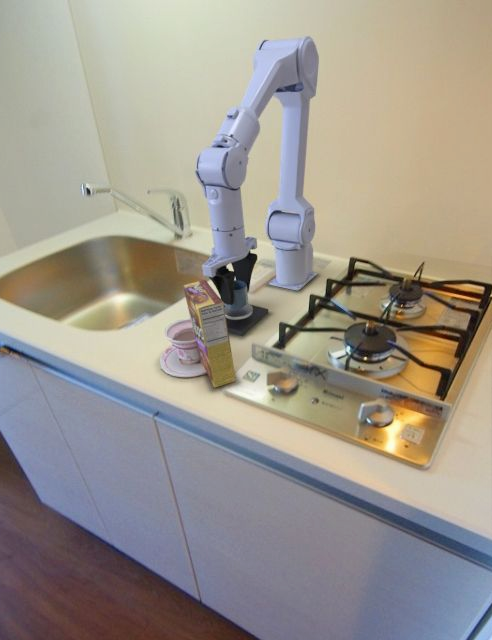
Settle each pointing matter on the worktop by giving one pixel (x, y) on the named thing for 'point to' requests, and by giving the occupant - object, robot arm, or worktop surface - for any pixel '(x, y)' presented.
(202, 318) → the candy box
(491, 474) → the worktop surface
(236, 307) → the blue cup
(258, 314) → the scale
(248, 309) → the grey round disc
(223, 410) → the worktop surface
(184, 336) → the teacup
